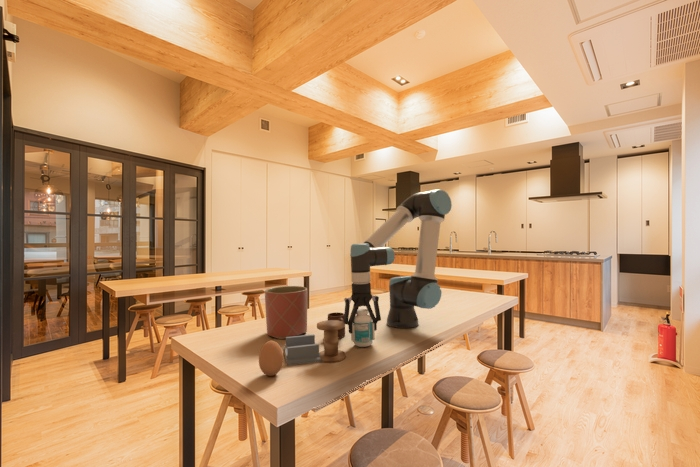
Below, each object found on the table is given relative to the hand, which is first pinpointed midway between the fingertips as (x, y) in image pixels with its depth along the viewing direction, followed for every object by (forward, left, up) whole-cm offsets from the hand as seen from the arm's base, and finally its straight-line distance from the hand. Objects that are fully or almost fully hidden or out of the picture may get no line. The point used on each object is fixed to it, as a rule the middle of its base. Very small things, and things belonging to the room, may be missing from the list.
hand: (363, 339), depth 126 cm
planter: (+28, -26, -2) cm, 38 cm away
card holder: (+24, +2, -2) cm, 25 cm away
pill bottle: (0, 0, -2) cm, 2 cm away
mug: (+7, -13, -2) cm, 15 cm away
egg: (+35, +17, -2) cm, 39 cm away
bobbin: (+14, +8, -2) cm, 17 cm away
